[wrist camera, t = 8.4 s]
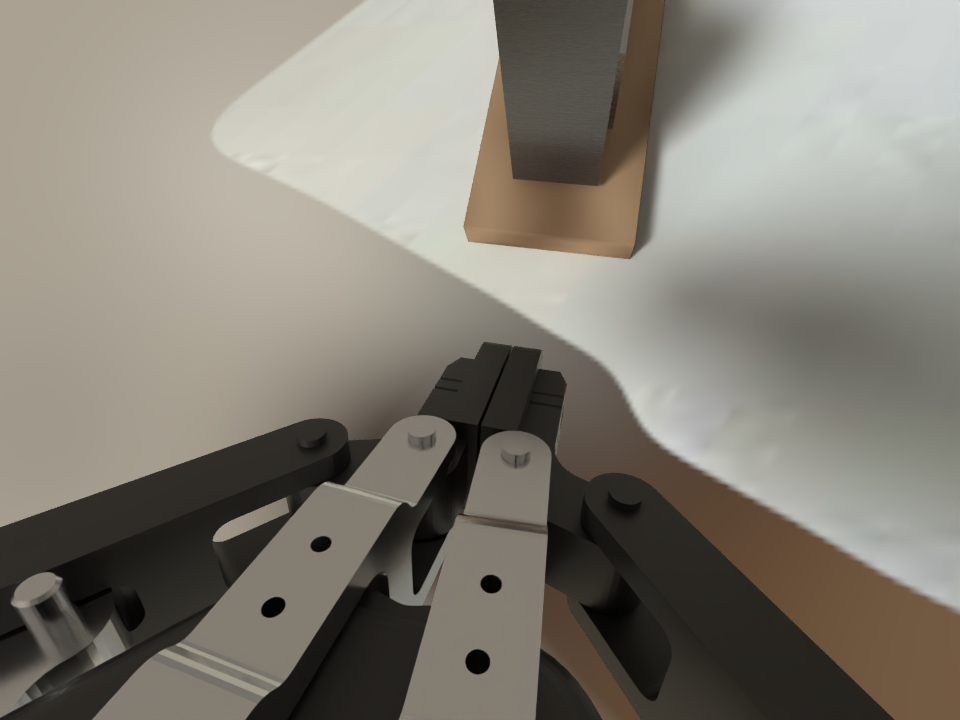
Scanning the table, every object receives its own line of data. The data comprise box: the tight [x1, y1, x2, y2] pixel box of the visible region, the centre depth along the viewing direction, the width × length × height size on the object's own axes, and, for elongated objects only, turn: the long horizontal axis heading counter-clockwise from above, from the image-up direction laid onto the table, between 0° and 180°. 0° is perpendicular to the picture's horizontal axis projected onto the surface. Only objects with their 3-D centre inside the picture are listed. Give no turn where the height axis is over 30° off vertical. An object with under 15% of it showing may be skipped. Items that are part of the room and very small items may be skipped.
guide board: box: [464, 0, 665, 259], centre depth 27 cm, size 8×20×2 cm, turn 169°
